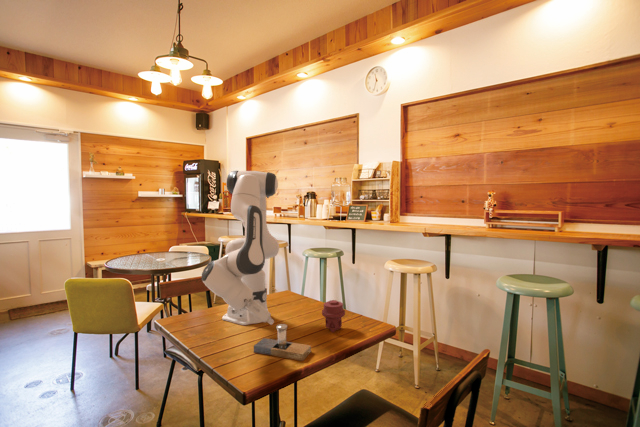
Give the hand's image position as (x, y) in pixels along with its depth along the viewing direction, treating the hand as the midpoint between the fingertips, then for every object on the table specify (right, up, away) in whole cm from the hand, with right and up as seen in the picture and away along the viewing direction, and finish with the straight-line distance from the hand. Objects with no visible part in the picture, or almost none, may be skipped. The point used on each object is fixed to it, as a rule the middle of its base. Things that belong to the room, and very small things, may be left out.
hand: (267, 319), depth 123 cm
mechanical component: (+25, -12, +22) cm, 35 cm away
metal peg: (+5, -12, +1) cm, 14 cm away
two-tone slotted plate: (+5, -12, +1) cm, 14 cm away
